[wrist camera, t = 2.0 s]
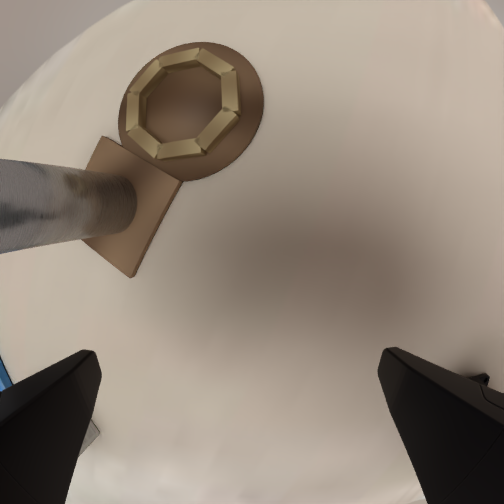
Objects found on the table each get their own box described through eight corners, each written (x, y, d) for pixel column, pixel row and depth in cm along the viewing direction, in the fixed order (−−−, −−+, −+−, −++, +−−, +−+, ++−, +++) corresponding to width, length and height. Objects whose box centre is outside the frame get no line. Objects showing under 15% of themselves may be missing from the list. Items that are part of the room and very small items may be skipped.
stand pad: (182, 181, 20) (179, 181, 19) (134, 276, 21) (130, 278, 21) (106, 137, 20) (102, 135, 19) (67, 223, 22) (63, 224, 21)
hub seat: (269, 173, 19) (266, 170, 17) (121, 190, 20) (109, 189, 19) (258, 35, 17) (255, 23, 16) (125, 64, 19) (115, 56, 17)
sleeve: (139, 231, 20) (-18, 260, 7) (92, 235, 21) (-51, 262, 8) (136, 170, 19) (-19, 142, 7) (90, 179, 20) (-54, 169, 7)
